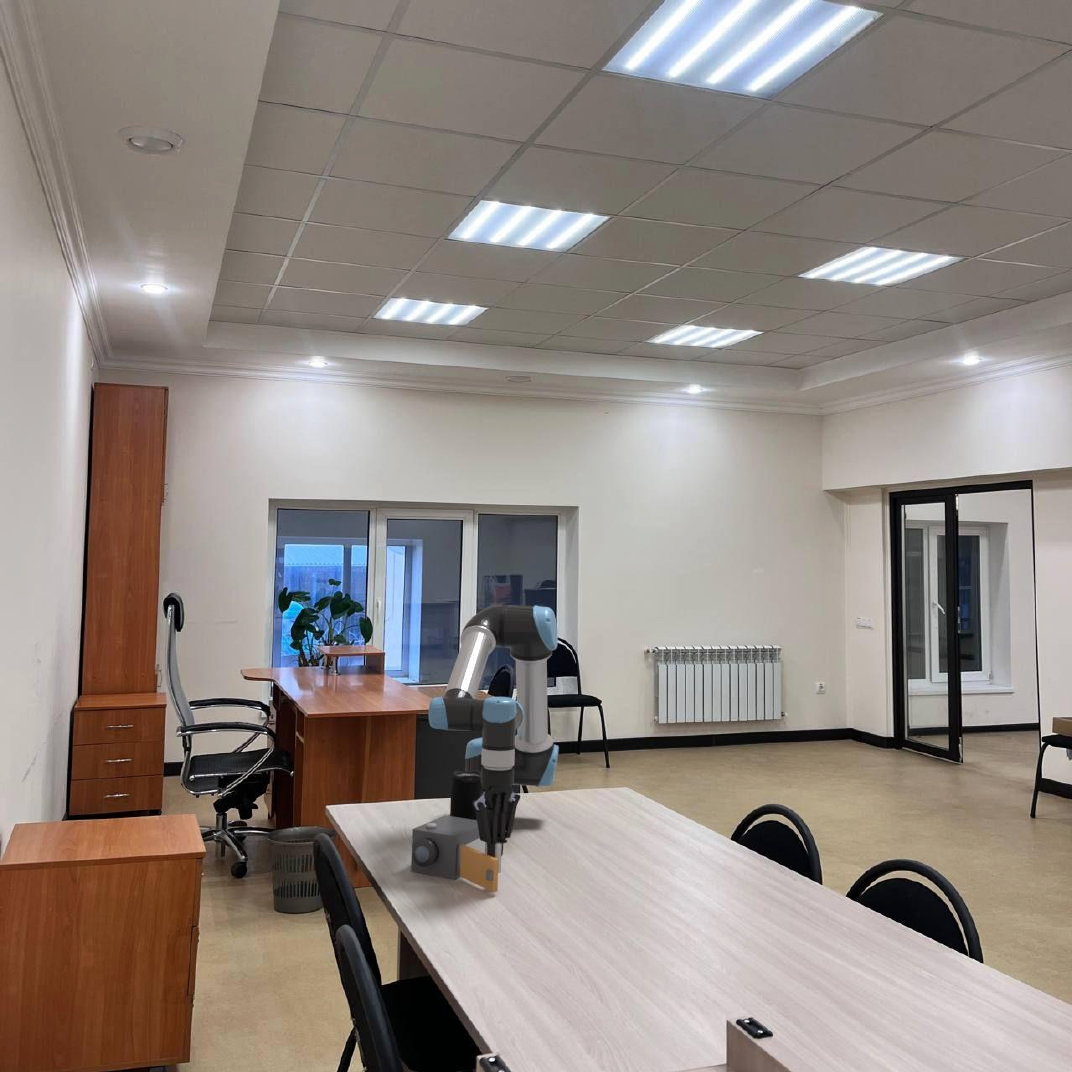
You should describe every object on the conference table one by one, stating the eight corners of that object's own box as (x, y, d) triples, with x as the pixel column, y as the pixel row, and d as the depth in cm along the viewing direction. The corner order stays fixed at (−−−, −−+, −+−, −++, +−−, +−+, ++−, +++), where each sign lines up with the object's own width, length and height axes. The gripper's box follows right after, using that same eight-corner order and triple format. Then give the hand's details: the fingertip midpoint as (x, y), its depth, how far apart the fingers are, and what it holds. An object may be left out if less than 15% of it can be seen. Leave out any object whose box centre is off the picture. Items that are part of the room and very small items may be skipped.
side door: (497, 891, 214) (498, 859, 214) (490, 892, 213) (491, 860, 213) (461, 874, 225) (462, 843, 225) (453, 875, 224) (455, 845, 224)
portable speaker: (479, 843, 254) (482, 768, 254) (484, 854, 244) (487, 776, 245) (447, 844, 252) (450, 768, 253) (450, 855, 243) (453, 776, 243)
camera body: (443, 855, 242) (445, 812, 243) (486, 863, 237) (488, 818, 237) (404, 874, 226) (406, 828, 227) (449, 883, 221) (451, 836, 221)
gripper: (507, 760, 226) (504, 861, 226) (465, 767, 217) (461, 873, 217) (529, 765, 221) (526, 870, 220) (487, 773, 212) (483, 882, 211)
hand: (494, 871), depth 219 cm, fingers closed
